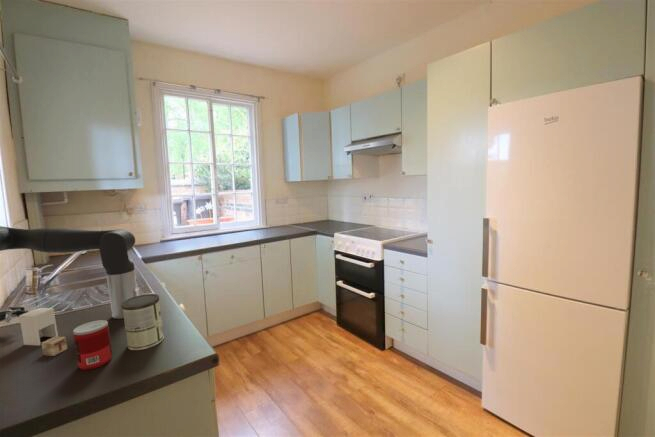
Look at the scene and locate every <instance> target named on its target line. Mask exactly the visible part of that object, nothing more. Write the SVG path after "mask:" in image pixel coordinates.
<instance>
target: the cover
mask: <svg viewBox="0 0 655 437" xmlns="http://www.w3.org/2000/svg"><path fill="white" fill-rule="evenodd" d="M18 319H19V323H20V329H21V335H22V338H23V339H22V340H23V345H24V346H38V347H39V346H42V344H41V343H42V342H41V338H44V337H49V338H50V337H51V338H53V337H55V336H57V337H59V334H58V327H57V321H56V316H55V309H54V308H53V307H51V308H47V307H38V308H36V309H32V310H30V311H28V312H27V313H24V314H22V315H19V317H18Z"/></svg>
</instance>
